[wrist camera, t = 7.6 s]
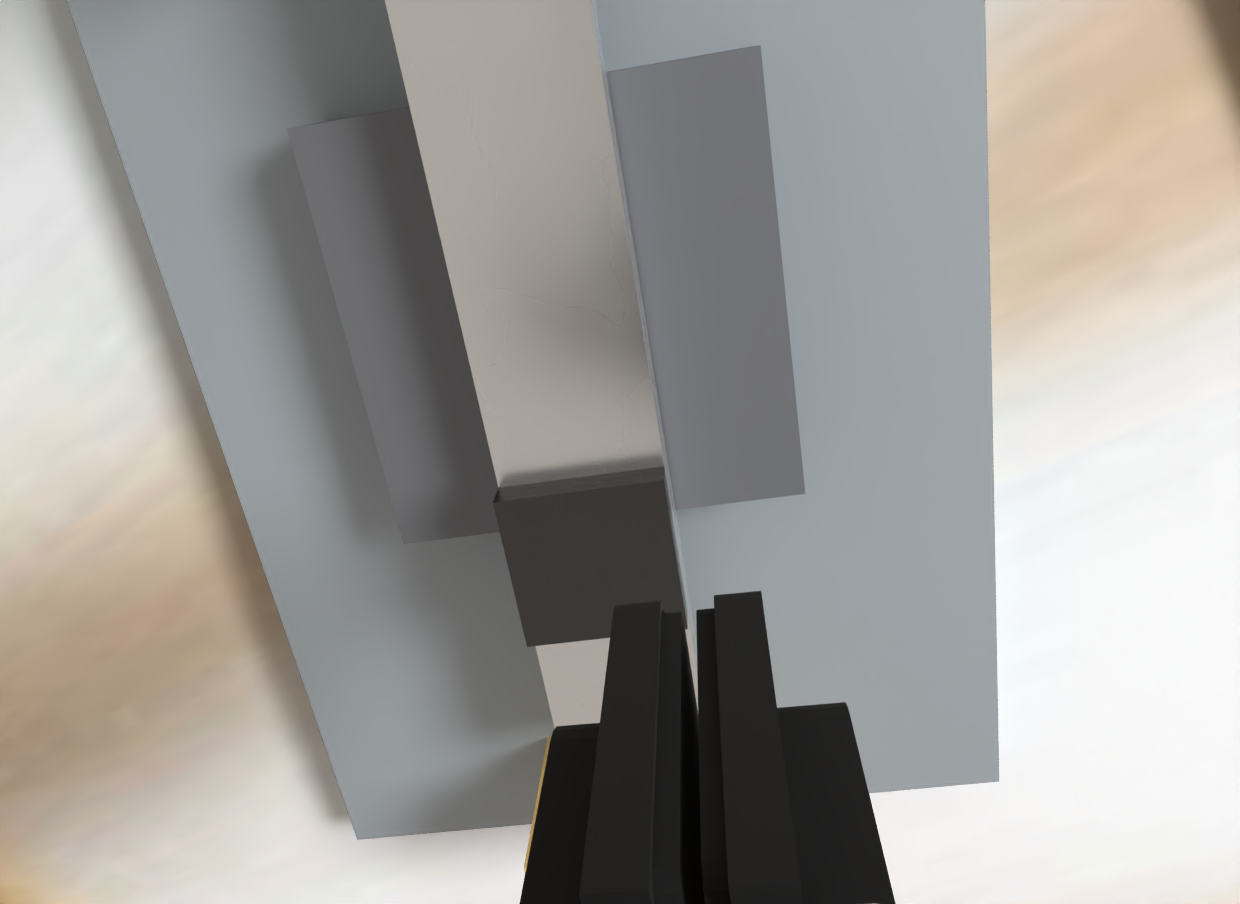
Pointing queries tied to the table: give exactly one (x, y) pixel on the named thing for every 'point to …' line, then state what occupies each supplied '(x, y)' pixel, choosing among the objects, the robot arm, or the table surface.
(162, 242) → the clamp base
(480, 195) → the clamp bar
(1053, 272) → the table surface
